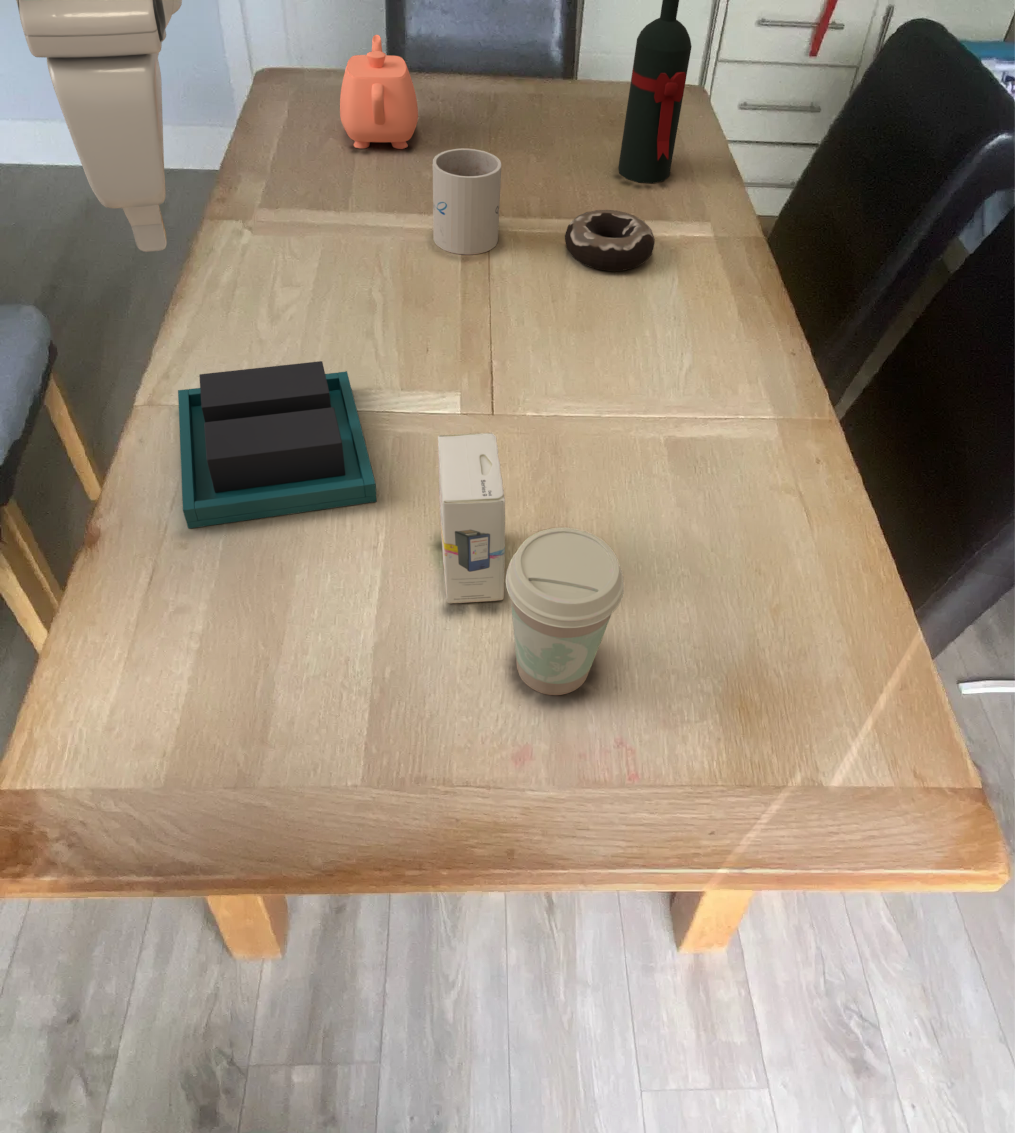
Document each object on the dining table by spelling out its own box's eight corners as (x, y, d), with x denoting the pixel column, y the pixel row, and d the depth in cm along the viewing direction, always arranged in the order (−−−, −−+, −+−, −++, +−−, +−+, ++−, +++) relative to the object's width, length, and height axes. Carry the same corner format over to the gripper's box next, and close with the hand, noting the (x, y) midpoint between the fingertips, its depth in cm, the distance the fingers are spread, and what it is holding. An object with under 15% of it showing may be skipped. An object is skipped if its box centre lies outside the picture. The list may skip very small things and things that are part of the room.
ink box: (503, 602, 77) (511, 500, 68) (442, 605, 76) (442, 502, 68) (493, 531, 83) (499, 429, 74) (437, 534, 82) (436, 430, 73)
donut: (621, 286, 114) (626, 257, 111) (545, 255, 118) (548, 226, 115) (668, 253, 120) (673, 224, 117) (594, 224, 125) (598, 196, 122)
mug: (496, 256, 117) (500, 179, 110) (430, 252, 117) (429, 175, 110) (499, 213, 126) (503, 139, 118) (437, 209, 126) (437, 135, 118)
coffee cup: (477, 666, 72) (481, 563, 63) (547, 608, 77) (560, 505, 68) (558, 730, 68) (574, 630, 60) (627, 666, 73) (651, 564, 64)
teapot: (421, 162, 136) (419, 76, 127) (341, 162, 134) (333, 75, 125) (415, 111, 149) (414, 29, 140) (343, 110, 148) (336, 28, 139)
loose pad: (214, 493, 83) (206, 459, 80) (212, 455, 87) (203, 422, 84) (345, 475, 86) (342, 442, 83) (337, 439, 89) (334, 406, 86)
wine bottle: (632, 191, 132) (669, -50, 111) (610, 162, 139) (641, -71, 117) (682, 188, 134) (728, -51, 112) (658, 159, 141) (697, -71, 119)
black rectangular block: (209, 440, 88) (201, 407, 85) (207, 407, 92) (199, 374, 89) (333, 425, 91) (329, 392, 88) (325, 393, 94) (322, 360, 91)
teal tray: (188, 529, 81) (182, 510, 79) (182, 408, 93) (177, 389, 91) (376, 501, 85) (375, 483, 83) (348, 389, 96) (347, 371, 95)
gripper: (46, -75, 57) (107, 150, 67) (16, 32, 43) (97, 293, 53) (152, -76, 58) (196, 145, 68) (154, 28, 45) (208, 284, 55)
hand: (152, 211), depth 61 cm, fingers open, 8 cm apart
